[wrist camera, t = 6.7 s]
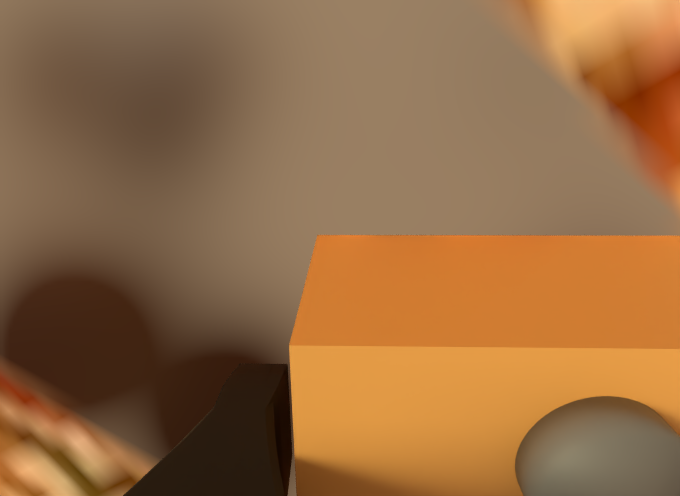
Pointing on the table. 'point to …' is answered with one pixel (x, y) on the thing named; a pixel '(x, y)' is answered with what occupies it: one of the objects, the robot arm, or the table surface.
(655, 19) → the table surface
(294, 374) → the lock block
